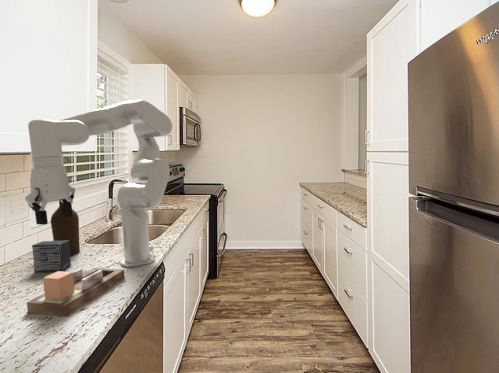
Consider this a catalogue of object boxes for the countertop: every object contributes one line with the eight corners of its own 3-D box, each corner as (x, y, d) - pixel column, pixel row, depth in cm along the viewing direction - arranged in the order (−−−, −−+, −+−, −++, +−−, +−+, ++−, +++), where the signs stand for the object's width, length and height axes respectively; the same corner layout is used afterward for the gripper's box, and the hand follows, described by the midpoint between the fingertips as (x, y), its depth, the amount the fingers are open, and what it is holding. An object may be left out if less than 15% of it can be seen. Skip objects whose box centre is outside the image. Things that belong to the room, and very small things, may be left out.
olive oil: (77, 255, 133) (73, 198, 131) (49, 258, 130) (44, 199, 128) (83, 248, 143) (79, 195, 141) (58, 251, 141) (53, 196, 138)
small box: (72, 265, 121) (70, 239, 120) (62, 271, 114) (60, 244, 113) (44, 266, 120) (42, 240, 119) (33, 272, 114) (31, 245, 113)
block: (59, 291, 90) (58, 271, 89) (74, 292, 89) (72, 272, 88) (45, 298, 85) (43, 277, 85) (60, 300, 84) (58, 278, 83)
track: (94, 276, 109) (93, 259, 108) (124, 278, 107) (123, 261, 106) (27, 312, 84) (25, 291, 83) (65, 316, 81) (63, 294, 81)
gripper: (60, 161, 99) (66, 213, 101) (10, 165, 82) (19, 227, 85) (80, 161, 98) (86, 213, 100) (34, 164, 81) (42, 227, 83)
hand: (55, 220), depth 92 cm, fingers open, 9 cm apart
